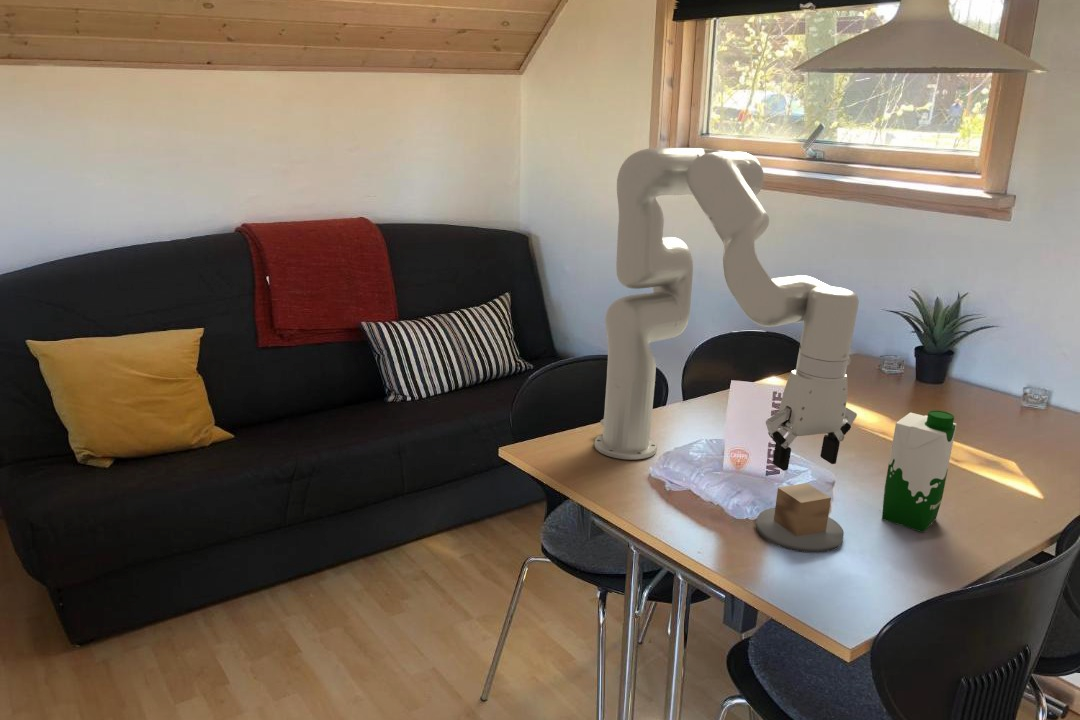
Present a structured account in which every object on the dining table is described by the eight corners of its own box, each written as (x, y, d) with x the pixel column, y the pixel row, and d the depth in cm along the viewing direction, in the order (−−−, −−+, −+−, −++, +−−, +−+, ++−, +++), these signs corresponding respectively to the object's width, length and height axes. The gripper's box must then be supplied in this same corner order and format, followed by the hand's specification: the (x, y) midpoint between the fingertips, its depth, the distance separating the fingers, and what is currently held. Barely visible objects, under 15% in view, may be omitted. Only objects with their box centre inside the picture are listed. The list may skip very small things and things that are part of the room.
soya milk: (927, 536, 150) (948, 424, 144) (873, 518, 155) (891, 410, 150) (942, 519, 157) (963, 411, 151) (890, 503, 162) (909, 398, 156)
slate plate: (739, 519, 153) (740, 513, 152) (805, 508, 158) (806, 502, 158) (791, 558, 141) (792, 551, 140) (861, 545, 146) (862, 538, 146)
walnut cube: (773, 520, 150) (777, 487, 149) (802, 515, 153) (806, 482, 151) (796, 536, 145) (801, 502, 144) (825, 530, 148) (830, 497, 146)
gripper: (848, 354, 148) (830, 449, 153) (762, 361, 141) (746, 460, 146) (881, 369, 141) (861, 467, 147) (792, 377, 135) (774, 479, 140)
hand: (804, 463), depth 146 cm, fingers open, 9 cm apart
